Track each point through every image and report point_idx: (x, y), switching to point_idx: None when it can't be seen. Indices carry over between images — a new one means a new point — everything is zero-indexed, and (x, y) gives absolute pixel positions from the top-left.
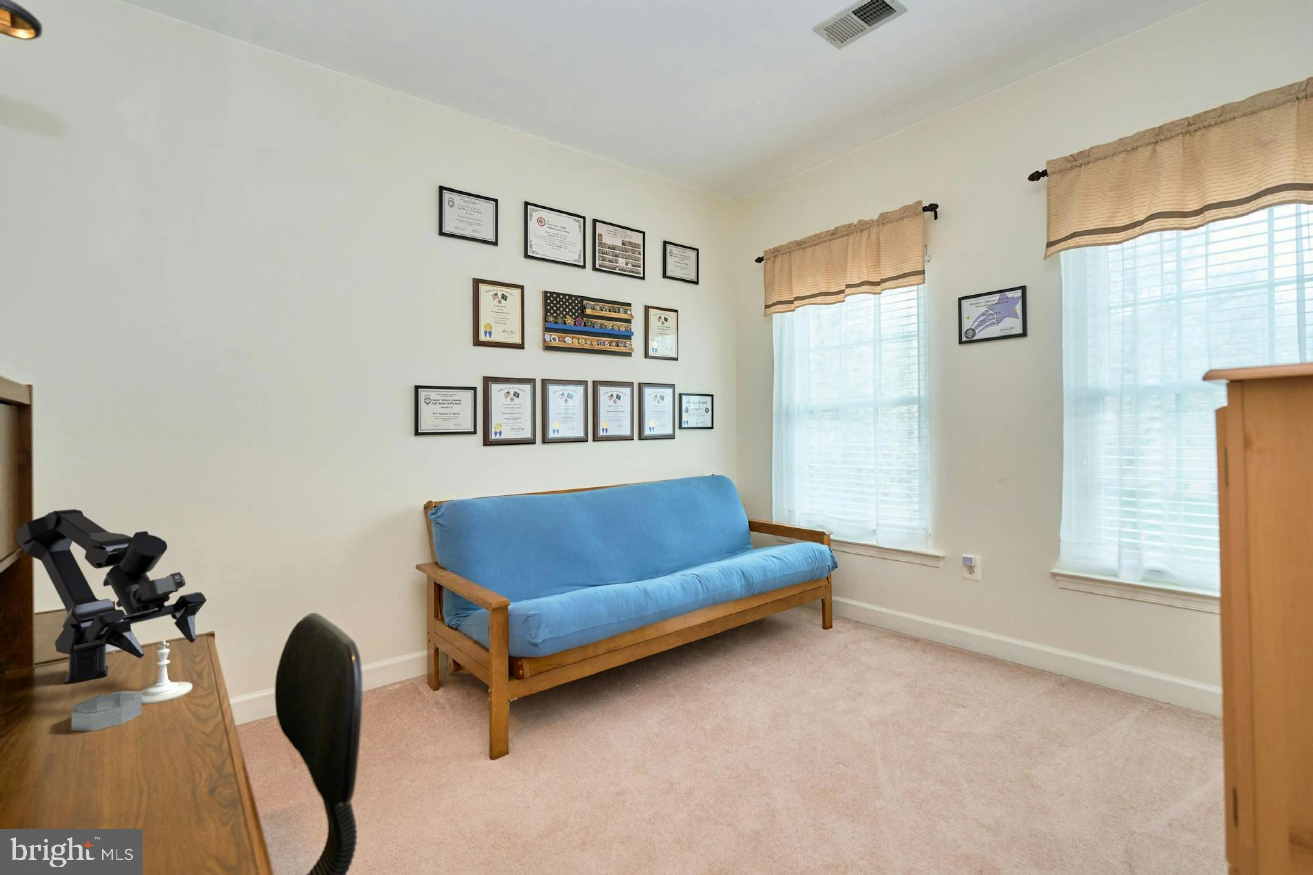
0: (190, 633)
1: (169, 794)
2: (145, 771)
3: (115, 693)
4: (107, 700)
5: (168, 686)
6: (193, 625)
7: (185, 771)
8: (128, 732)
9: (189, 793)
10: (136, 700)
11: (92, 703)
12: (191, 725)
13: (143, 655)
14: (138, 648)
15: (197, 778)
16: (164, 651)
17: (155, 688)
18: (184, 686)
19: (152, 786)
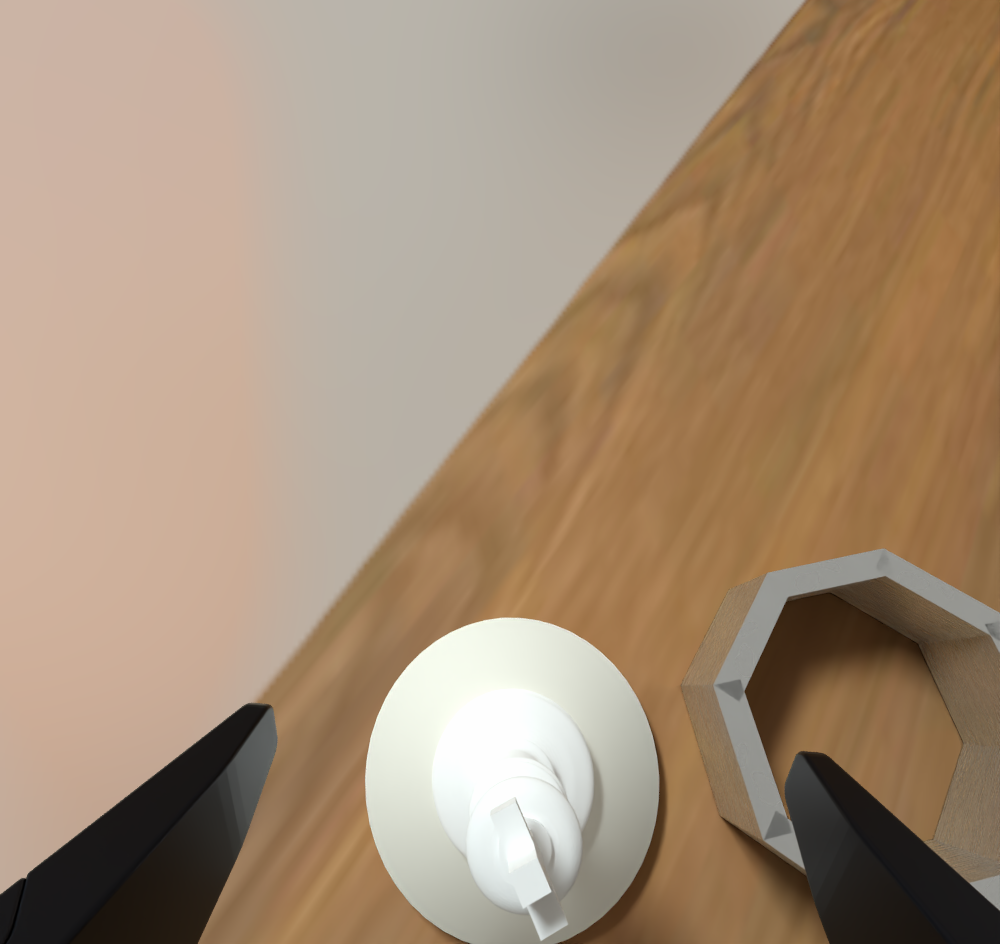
0: (224, 776)
1: (945, 36)
2: (935, 161)
3: None
4: None
5: (516, 719)
6: (72, 854)
7: (872, 82)
8: (848, 456)
9: (916, 9)
10: (796, 568)
11: None
12: (696, 293)
13: (795, 757)
14: (886, 826)
15: (872, 39)
16: (543, 789)
17: (565, 772)
18: (427, 703)
19: (955, 89)
